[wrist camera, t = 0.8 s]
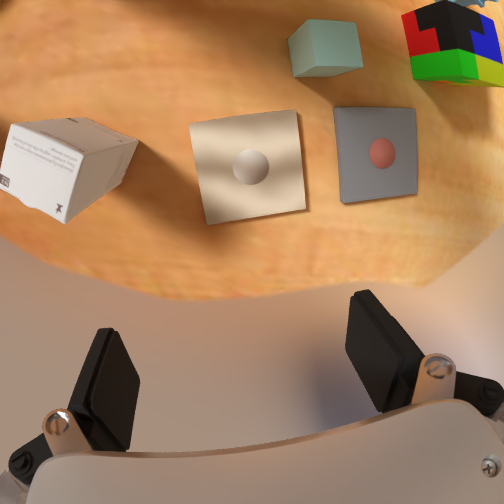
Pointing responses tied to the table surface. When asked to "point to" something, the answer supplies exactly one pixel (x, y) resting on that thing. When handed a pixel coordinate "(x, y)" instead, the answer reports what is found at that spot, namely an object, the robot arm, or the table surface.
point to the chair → (469, 2)
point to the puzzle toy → (453, 46)
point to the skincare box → (63, 164)
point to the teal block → (324, 48)
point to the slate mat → (376, 152)
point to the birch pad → (248, 165)
